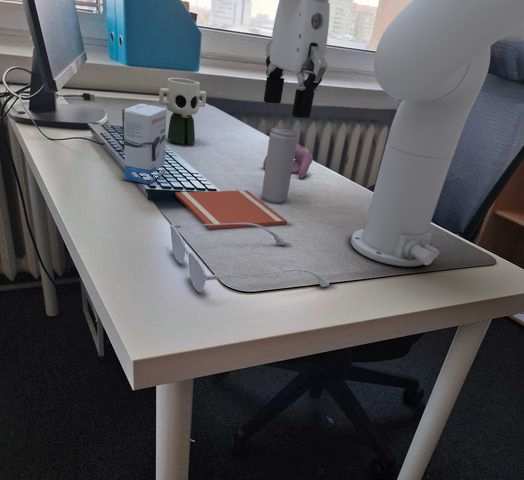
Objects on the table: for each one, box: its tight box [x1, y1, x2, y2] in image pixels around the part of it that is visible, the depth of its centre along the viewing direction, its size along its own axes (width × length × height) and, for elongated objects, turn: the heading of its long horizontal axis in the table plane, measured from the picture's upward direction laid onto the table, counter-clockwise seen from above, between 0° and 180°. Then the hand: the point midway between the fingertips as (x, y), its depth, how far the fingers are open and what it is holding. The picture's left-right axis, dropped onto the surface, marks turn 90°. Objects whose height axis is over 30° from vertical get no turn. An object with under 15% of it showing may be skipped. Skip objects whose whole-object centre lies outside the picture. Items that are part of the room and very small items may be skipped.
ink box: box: [123, 103, 168, 185], centre depth 92 cm, size 8×5×12 cm, turn 168°
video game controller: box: [262, 143, 314, 179], centre depth 110 cm, size 10×5×7 cm, turn 65°
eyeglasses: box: [169, 223, 330, 293], centre depth 68 cm, size 15×18×4 cm
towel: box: [174, 189, 288, 230], centre depth 87 cm, size 15×14×1 cm
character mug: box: [158, 77, 207, 145], centre depth 115 cm, size 11×7×13 cm, turn 117°
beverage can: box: [261, 127, 298, 204], centre depth 91 cm, size 5×5×12 cm
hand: (285, 109), depth 86 cm, fingers open, 9 cm apart
